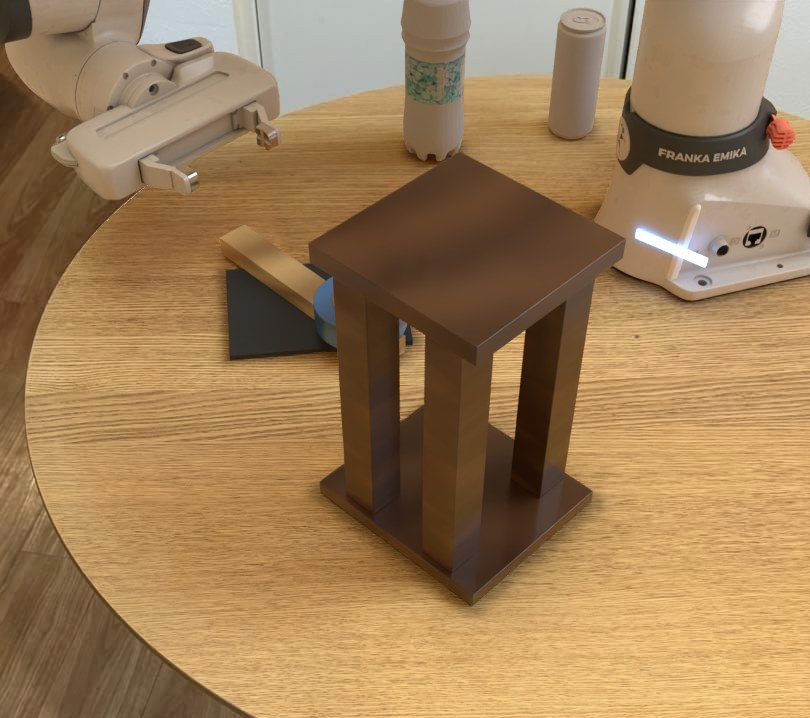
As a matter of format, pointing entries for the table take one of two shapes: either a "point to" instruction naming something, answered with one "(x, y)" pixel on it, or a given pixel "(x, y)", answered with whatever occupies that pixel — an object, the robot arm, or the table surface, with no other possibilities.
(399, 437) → the stand
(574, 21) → the beverage can
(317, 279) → the tan long bar
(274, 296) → the mat
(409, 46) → the bottle
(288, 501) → the table surface
